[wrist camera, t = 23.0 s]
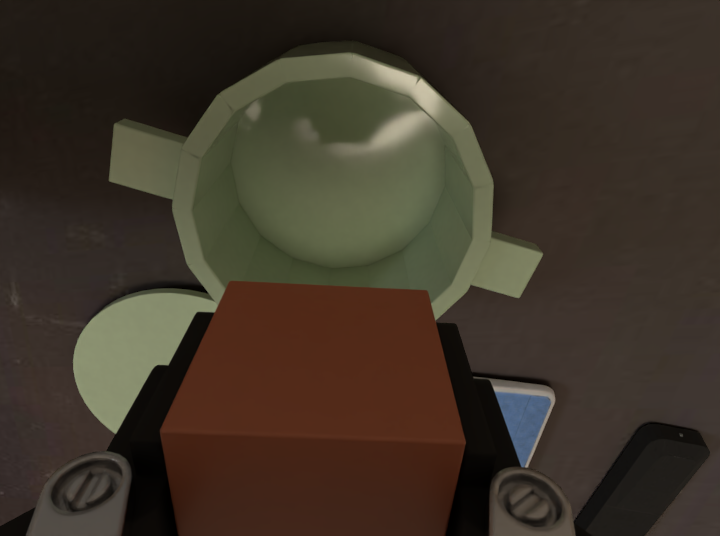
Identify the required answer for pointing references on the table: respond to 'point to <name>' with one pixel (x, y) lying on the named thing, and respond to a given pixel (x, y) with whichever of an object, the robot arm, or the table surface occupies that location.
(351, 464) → the block
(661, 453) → the remote control
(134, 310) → the lid
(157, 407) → the robot arm
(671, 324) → the table surface
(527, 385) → the tablet
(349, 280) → the light green round pot
